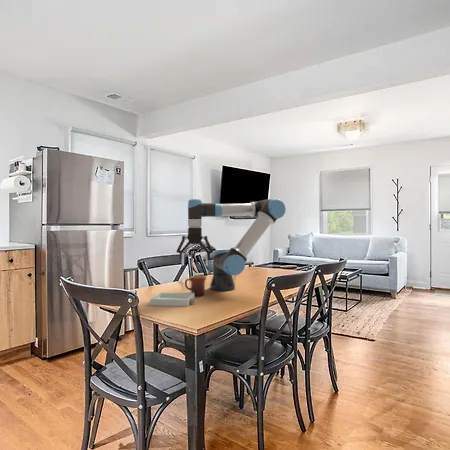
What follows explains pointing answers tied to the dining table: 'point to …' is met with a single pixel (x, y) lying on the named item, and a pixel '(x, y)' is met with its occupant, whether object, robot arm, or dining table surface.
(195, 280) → the mug
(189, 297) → the grey-green tray
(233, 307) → the dining table surface
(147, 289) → the dining table surface
